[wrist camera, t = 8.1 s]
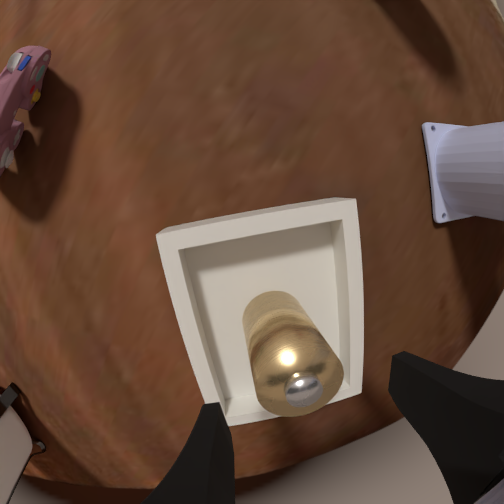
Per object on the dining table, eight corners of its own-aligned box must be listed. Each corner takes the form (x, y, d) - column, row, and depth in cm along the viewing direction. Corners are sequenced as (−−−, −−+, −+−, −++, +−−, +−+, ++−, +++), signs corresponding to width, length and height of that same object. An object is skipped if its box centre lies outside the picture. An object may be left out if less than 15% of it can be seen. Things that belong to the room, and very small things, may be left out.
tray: (335, 197, 18) (355, 198, 15) (346, 371, 21) (361, 392, 18) (166, 227, 17) (155, 234, 14) (214, 402, 20) (215, 427, 17)
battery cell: (299, 284, 18) (349, 344, 10) (305, 338, 19) (347, 410, 11) (237, 297, 17) (250, 368, 10) (248, 351, 18) (264, 432, 11)
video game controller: (19, 179, 16) (-7, 194, 11) (-21, 166, 14) (-57, 177, 8) (67, 66, 15) (58, 37, 9) (26, 53, 12) (5, 25, 7)
